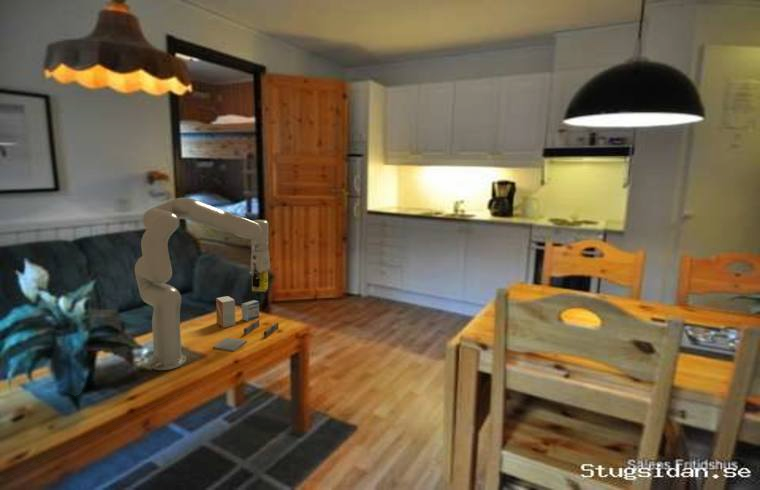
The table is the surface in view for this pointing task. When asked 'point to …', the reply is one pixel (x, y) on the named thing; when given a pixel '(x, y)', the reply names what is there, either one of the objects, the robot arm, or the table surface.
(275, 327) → the divider rack
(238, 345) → the grey tile
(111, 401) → the table surface
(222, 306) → the small box
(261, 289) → the supplement box
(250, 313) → the medicine box
